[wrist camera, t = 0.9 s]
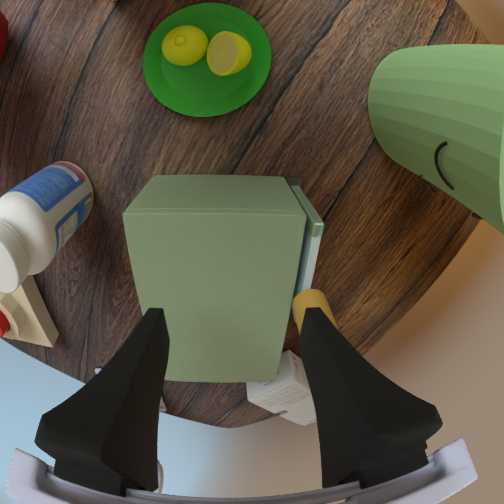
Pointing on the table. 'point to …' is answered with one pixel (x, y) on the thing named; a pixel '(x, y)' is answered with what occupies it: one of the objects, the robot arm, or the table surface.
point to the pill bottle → (40, 220)
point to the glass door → (308, 264)
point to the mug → (445, 120)
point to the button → (3, 324)
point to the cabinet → (218, 270)
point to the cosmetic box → (286, 392)
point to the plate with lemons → (207, 59)
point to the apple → (3, 34)
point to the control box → (28, 315)
